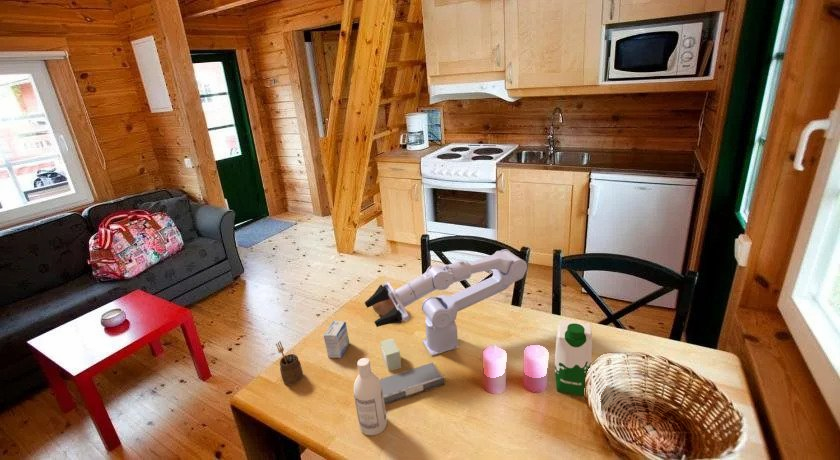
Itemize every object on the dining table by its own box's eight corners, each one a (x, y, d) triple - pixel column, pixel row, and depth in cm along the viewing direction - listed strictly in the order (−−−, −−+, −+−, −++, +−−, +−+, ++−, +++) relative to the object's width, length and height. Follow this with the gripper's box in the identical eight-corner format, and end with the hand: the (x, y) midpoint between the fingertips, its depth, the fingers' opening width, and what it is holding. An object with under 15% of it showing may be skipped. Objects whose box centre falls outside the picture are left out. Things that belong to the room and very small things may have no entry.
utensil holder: (292, 388, 117) (284, 354, 112) (278, 381, 120) (269, 348, 115) (307, 375, 121) (300, 342, 117) (293, 368, 124) (285, 336, 120)
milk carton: (553, 393, 107) (557, 331, 100) (554, 370, 115) (558, 311, 108) (588, 400, 105) (595, 336, 97) (587, 375, 112) (593, 315, 105)
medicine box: (340, 358, 127) (336, 336, 124) (327, 357, 128) (323, 335, 125) (349, 342, 134) (346, 321, 131) (337, 342, 135) (333, 320, 132)
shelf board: (432, 364, 121) (432, 357, 120) (445, 384, 113) (444, 377, 112) (368, 385, 115) (367, 378, 115) (376, 408, 107) (375, 401, 106)
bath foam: (373, 409, 107) (364, 348, 100) (392, 422, 103) (384, 359, 95) (354, 427, 102) (342, 364, 95) (373, 441, 98) (362, 376, 90)
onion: (382, 325, 147) (372, 310, 140) (374, 307, 154) (364, 292, 147) (405, 311, 148) (395, 296, 141) (396, 294, 155) (386, 279, 148)
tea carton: (394, 353, 128) (392, 337, 125) (401, 367, 121) (399, 351, 119) (381, 357, 126) (379, 341, 124) (388, 371, 120) (386, 355, 118)
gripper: (398, 267, 121) (357, 289, 118) (420, 302, 111) (376, 326, 109) (403, 281, 126) (364, 302, 123) (425, 315, 116) (383, 339, 114)
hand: (370, 314), depth 116 cm, fingers open, 7 cm apart
